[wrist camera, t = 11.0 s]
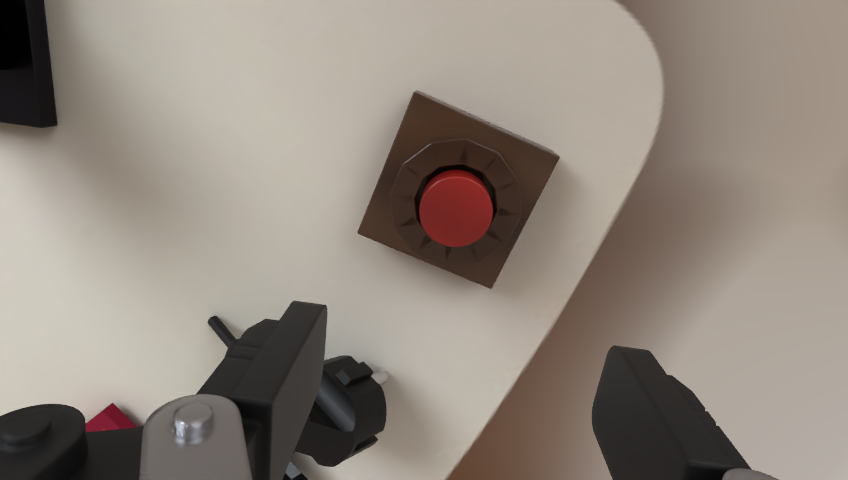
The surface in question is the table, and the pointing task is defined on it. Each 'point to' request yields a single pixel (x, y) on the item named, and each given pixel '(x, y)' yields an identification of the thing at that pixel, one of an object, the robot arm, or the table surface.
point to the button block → (456, 150)
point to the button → (455, 208)
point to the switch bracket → (25, 65)
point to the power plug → (337, 407)
